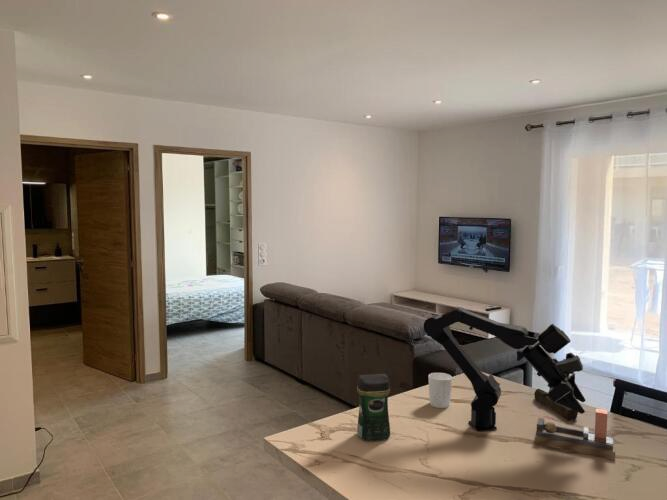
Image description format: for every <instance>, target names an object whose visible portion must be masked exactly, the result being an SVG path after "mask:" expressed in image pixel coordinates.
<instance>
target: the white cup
mask: <svg viewBox="0 0 667 500" xmlns="http://www.w3.org/2000/svg"><path fill="white" fill-rule="evenodd" d="M452 378H453V377H452V375H451V374H449V373H445V372H431V373H429V374H428V395H429V405H430V406H431V407H433V408H437V409H446V408H449V407H450V405H451V395H452V394H451V393H452V384H453V383H452V380H453V379H452Z"/></svg>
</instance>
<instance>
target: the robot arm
mask: <svg viewBox="0 0 667 500" xmlns="http://www.w3.org/2000/svg"><path fill="white" fill-rule="evenodd" d="M456 323H461V324H463V325H465V326H468V327H471V328H473V329H476V330H479V331H481V332H484V333H486V334H488V335H491V336H494V337H495V338H497V339H498V340H499V341H500V342H502V343H504V344H505V345H507V346H509V347H510V348H512V349H514V350H516V361H517V362H520V361H521V360H522V359H523V358H524V360H526V361H527V363H529V365H530V366H531V367H533V369H534V370H535V371H536V372H537V373H536V375H537V376H538V377H542V378H543V379H544V381H545V382H546V383H547V385H546V386H547V387H548V388H549V389H548V392H547V393H548V397H549V398H550V399H551V400H552V402H556V403H559V404H562V405H564V406H566V407H568V408H571V409H573V410H575V411H577V412H578V413H580V414H582V415H583V414H584V413H585V412H586V411H585V409H584V408H583V406H582V405H581V404H580V402H581V403H585V402H586V398H585V396H584V395H583V393H582V391H581V389H580V388H579V386H578V385H577V383H576V381H575V380H576V373H575V372H581V371H583V370H584V369H583V368H584V364H583V363H582V360H581V358H580V357H579V355H577V354H576V355H575V354H574V353H572V352H569V353H566V354H565V358H563V359H562V360H558V359H557V358H555V357H553V358H552V357H551V356H550V355H549V354H553V355H556V354H557V353H558V352H559V351H560V350H562V349H563V348H564V347H566V346H567V345H569V343H571V338H570V337H569V336H568V335H567V334H566V332H564V331H563V330H562V329H560V328H559V327H558V326H556V325H555V324H554V323H551V324H549V325H548V326H547V328H545V329H544V330H543V331H542V332H541V333H540V332H536V331H531V330H528V328H526V327H525V326H522V325H517V324H512V323H501V322H499V321H497V320H496V321H495V320H493V319H490V318H489V317H486V316H483V315H480V314H478V313H475V312H472V311H469V310H468V309H465V308H463V307H461V306H457V307H455V308H454V309H453V310H450V311H447V312H444V313H442V314H432V315H430V317H428V318H426V319H425V321H424V322H423V331H424V332H425V334H427V336H429V337H430V338H431V339H432V340H433V341H434V342H436V343H438V344H439V345H441V346H442V348H443V349H444V350H445V351H446V352H447V354H448V356H450V357H451V358H452V360H453V361H454V363H455V364H456V365H457V366H458V368H459V369H460V370H461V371H462V372H463V374H464V375H465V377H466V378H467V379H468V380H469V382H470V383H471V385H472V388H473V391H474V394H475V396H474V397H473V399H472V401H471V403H470V408H471V411H470V412H471V414H470V420H468V424H469V425H470V426H472V428H474V429H475V430H476V431H477V432H485V431H493V430H495V431H496V430H498V428H497V425H496V424H497V423H496V422H497V421H496V418H497V417H496V415H497V412H496V411H495V407H494V406H496V405H497V404H498V402H499V399H500V398H501V396H502V388H501V387H500V385H501V383H499V382H498V381H497V380H496V378H495V377H494V375H493V374H492V373H490V374H489V375H486V374H485V373H483V372H482V370H481V369H480V368H479V367H478V366H477V364H476V363H475V362H474V360H473V359H472V358H471V357H470V356H469V354H468V353H467V352H466V350H465V349H464V348H463V347H462V345H460V343H459V342H458V340H457V339H456V338H455V337H454V336H453V333H452V330H451V327H450V326H451V325H454V324H456ZM521 349H522V350H521Z"/></svg>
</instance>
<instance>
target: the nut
mask: <svg viewBox="0 0 667 500" xmlns="http://www.w3.org/2000/svg"><path fill="white" fill-rule="evenodd" d="M556 426H557V425H556V424H555V423H554V422H552V421H548V422H546V423H545V430H546V432H549V433H555V432H556Z"/></svg>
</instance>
